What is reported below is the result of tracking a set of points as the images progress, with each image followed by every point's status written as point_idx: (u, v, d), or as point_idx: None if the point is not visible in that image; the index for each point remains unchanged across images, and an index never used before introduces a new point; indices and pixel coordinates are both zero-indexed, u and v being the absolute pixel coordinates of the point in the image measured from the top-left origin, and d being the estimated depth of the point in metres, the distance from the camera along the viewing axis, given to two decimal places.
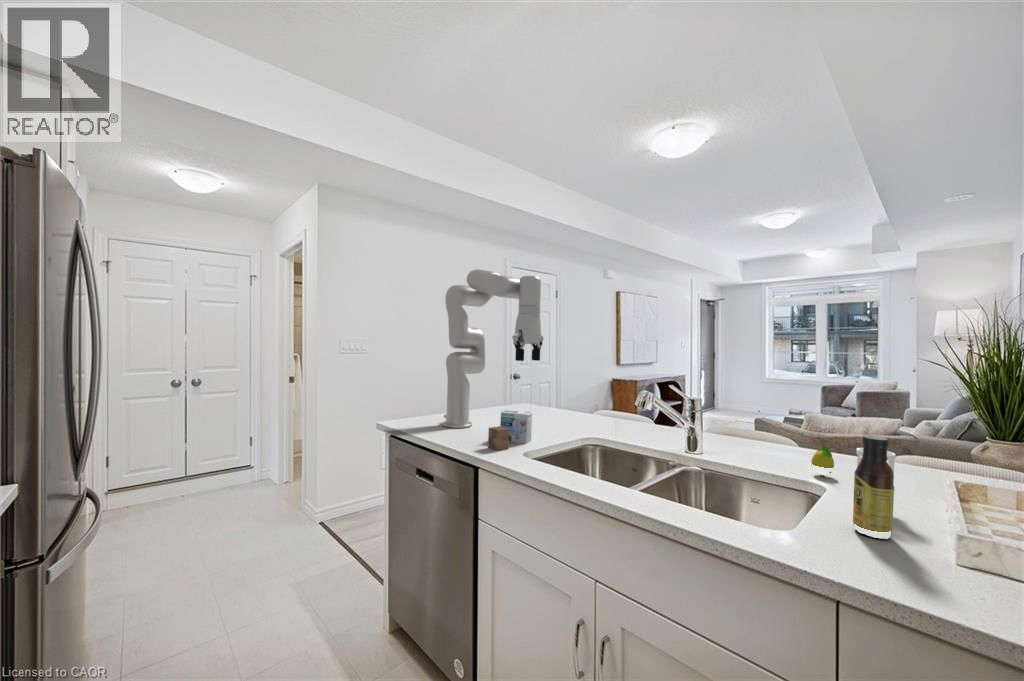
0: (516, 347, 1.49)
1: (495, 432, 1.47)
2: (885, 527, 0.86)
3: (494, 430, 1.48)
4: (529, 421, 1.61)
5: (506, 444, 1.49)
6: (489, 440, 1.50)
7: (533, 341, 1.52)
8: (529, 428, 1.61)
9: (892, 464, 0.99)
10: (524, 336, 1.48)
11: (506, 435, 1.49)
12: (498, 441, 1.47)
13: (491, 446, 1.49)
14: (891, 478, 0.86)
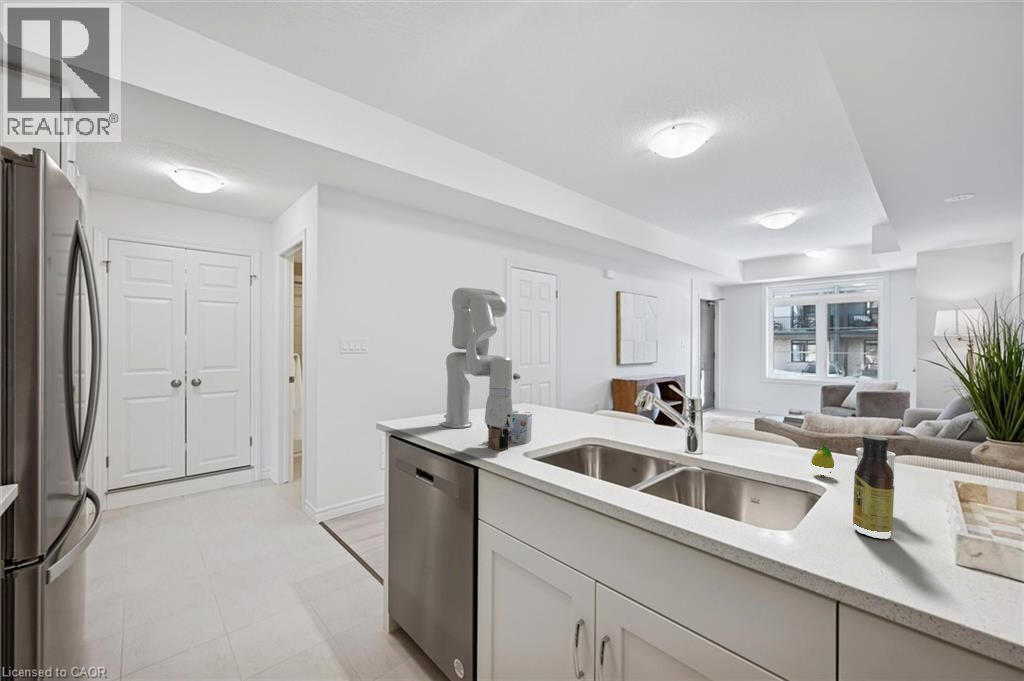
0: (504, 435, 1.46)
1: (495, 432, 1.47)
2: (885, 527, 0.86)
3: (494, 430, 1.48)
4: (529, 421, 1.61)
5: None
6: (489, 440, 1.50)
7: None
8: (529, 428, 1.61)
9: (892, 464, 0.99)
10: None
11: None
12: (498, 441, 1.47)
13: (491, 446, 1.49)
14: (891, 478, 0.86)
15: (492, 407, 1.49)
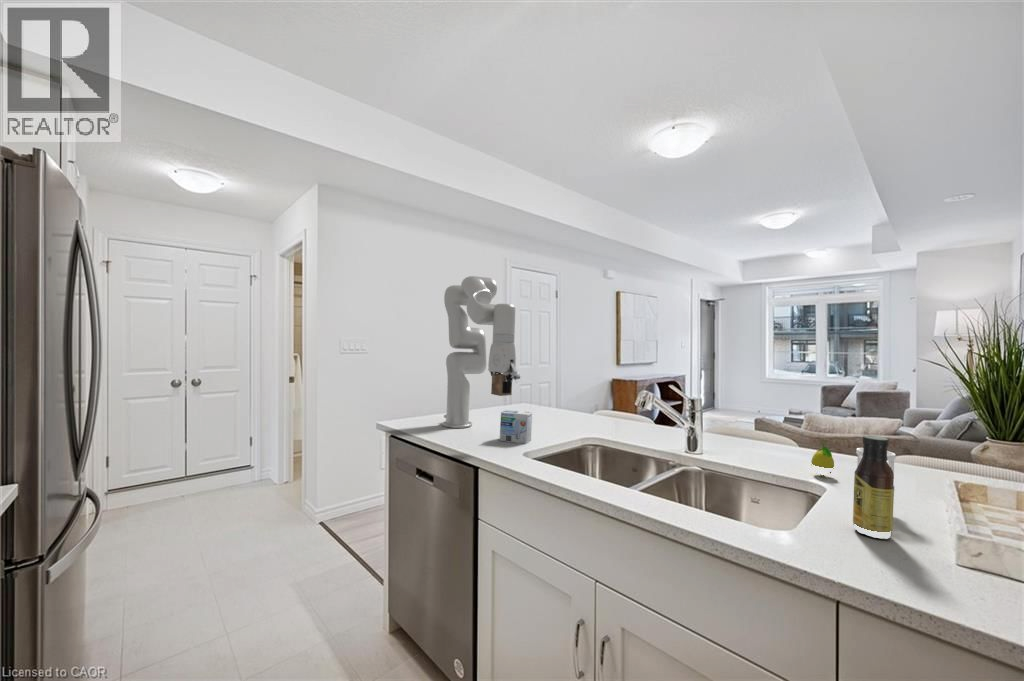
0: (507, 380, 1.48)
1: (498, 377, 1.49)
2: (885, 527, 0.86)
3: (497, 375, 1.49)
4: (529, 421, 1.61)
5: None
6: (492, 386, 1.51)
7: None
8: (529, 428, 1.61)
9: (892, 464, 0.99)
10: (515, 366, 1.49)
11: None
12: (501, 386, 1.48)
13: (494, 392, 1.50)
14: (891, 478, 0.86)
15: (495, 353, 1.50)
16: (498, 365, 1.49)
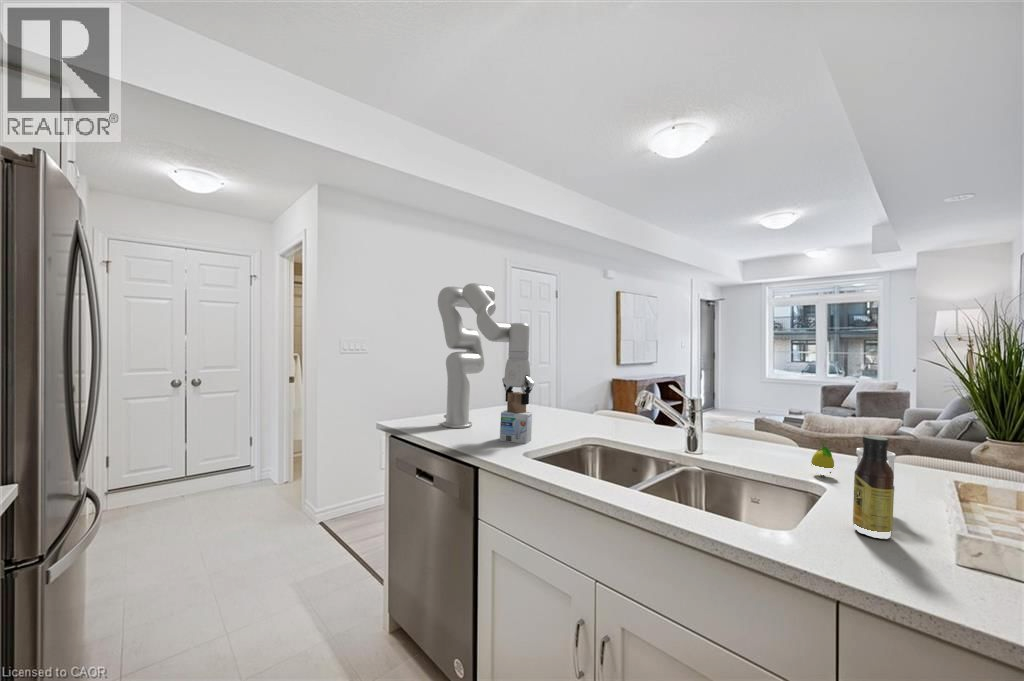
0: (526, 393, 1.58)
1: (514, 396, 1.61)
2: (885, 527, 0.86)
3: (513, 394, 1.61)
4: (529, 421, 1.61)
5: (524, 408, 1.62)
6: (508, 404, 1.63)
7: None
8: (529, 428, 1.61)
9: (892, 464, 0.99)
10: None
11: None
12: (517, 404, 1.60)
13: (510, 409, 1.62)
14: (891, 478, 0.86)
15: (511, 369, 1.62)
16: (514, 380, 1.60)
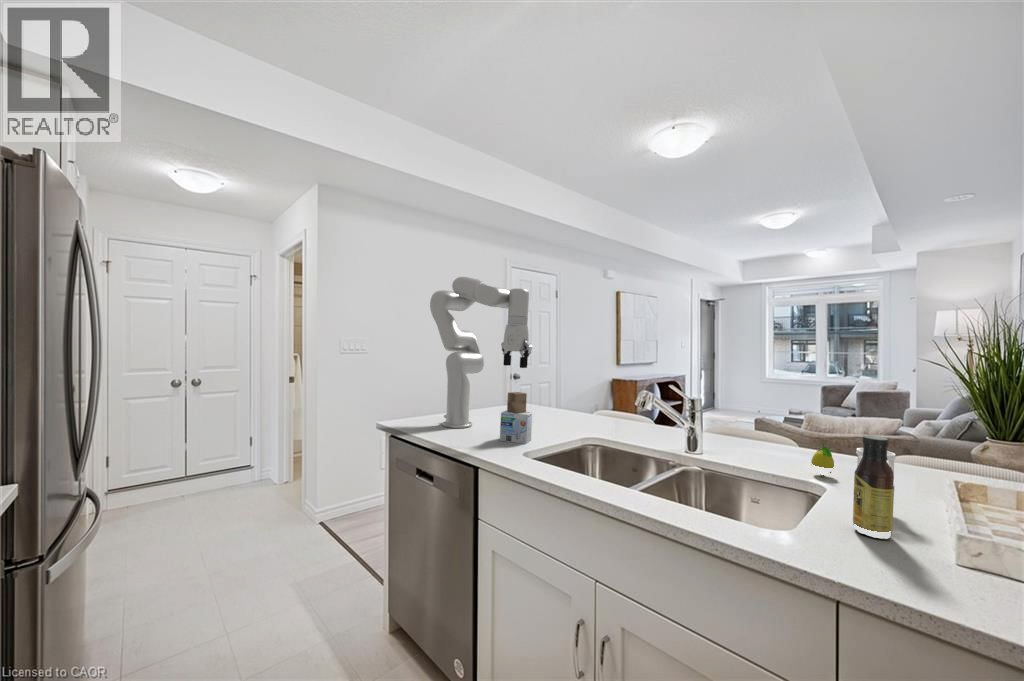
0: (524, 356, 1.61)
1: (514, 396, 1.61)
2: (885, 527, 0.86)
3: (513, 394, 1.61)
4: (529, 421, 1.61)
5: (524, 407, 1.62)
6: (508, 404, 1.63)
7: None
8: (529, 428, 1.61)
9: (892, 464, 0.99)
10: None
11: (524, 399, 1.62)
12: (517, 404, 1.60)
13: (510, 409, 1.62)
14: (891, 478, 0.86)
15: (510, 333, 1.64)
16: (512, 344, 1.63)
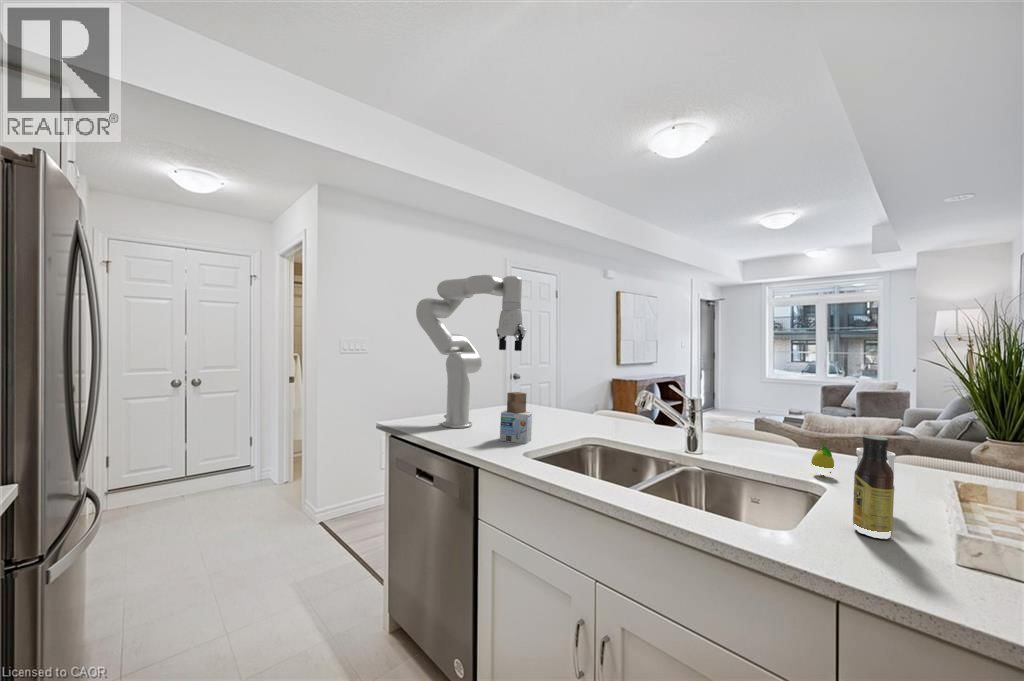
0: (519, 339, 1.70)
1: (514, 396, 1.61)
2: (885, 527, 0.86)
3: (513, 394, 1.61)
4: (529, 421, 1.61)
5: (524, 408, 1.62)
6: (508, 404, 1.63)
7: None
8: (529, 428, 1.61)
9: (892, 464, 0.99)
10: None
11: (524, 399, 1.62)
12: (517, 404, 1.60)
13: (510, 409, 1.62)
14: (891, 478, 0.86)
15: (505, 319, 1.73)
16: (507, 329, 1.72)
